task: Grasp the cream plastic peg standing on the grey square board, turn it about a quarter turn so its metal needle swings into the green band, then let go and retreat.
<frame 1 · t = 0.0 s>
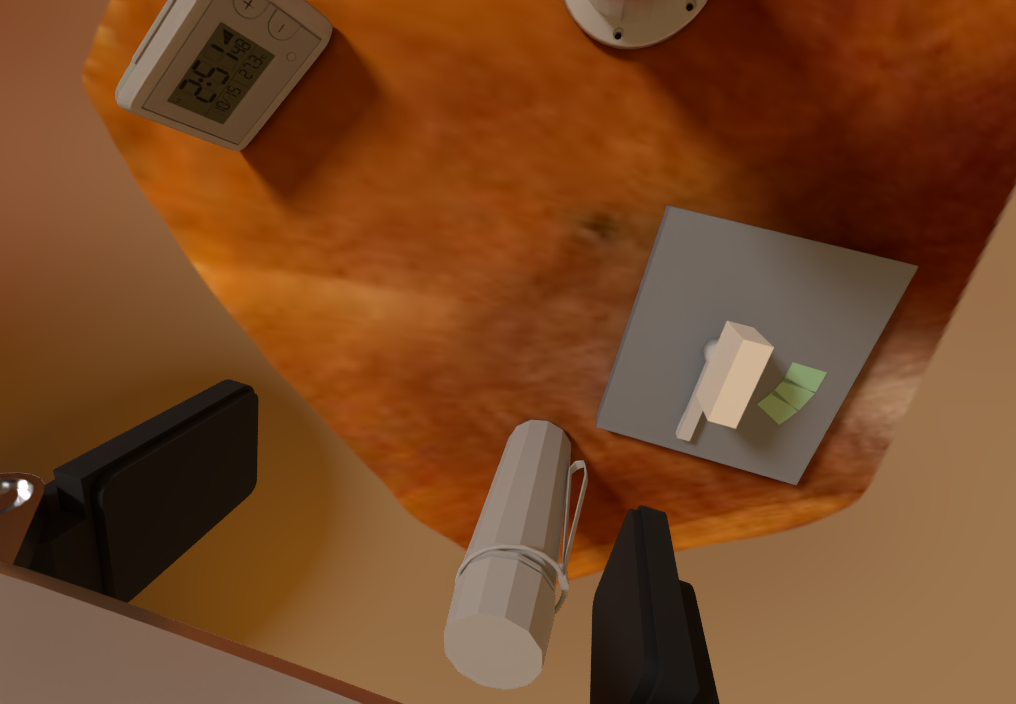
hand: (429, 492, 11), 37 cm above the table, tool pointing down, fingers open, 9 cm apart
water bottle: (548, 442, 52), on the table
digital clock: (272, 75, 45), on the table
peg: (714, 394, 40), point 6 cm above the table, hinge at 0.0°
grey square board: (731, 347, 45), on the table
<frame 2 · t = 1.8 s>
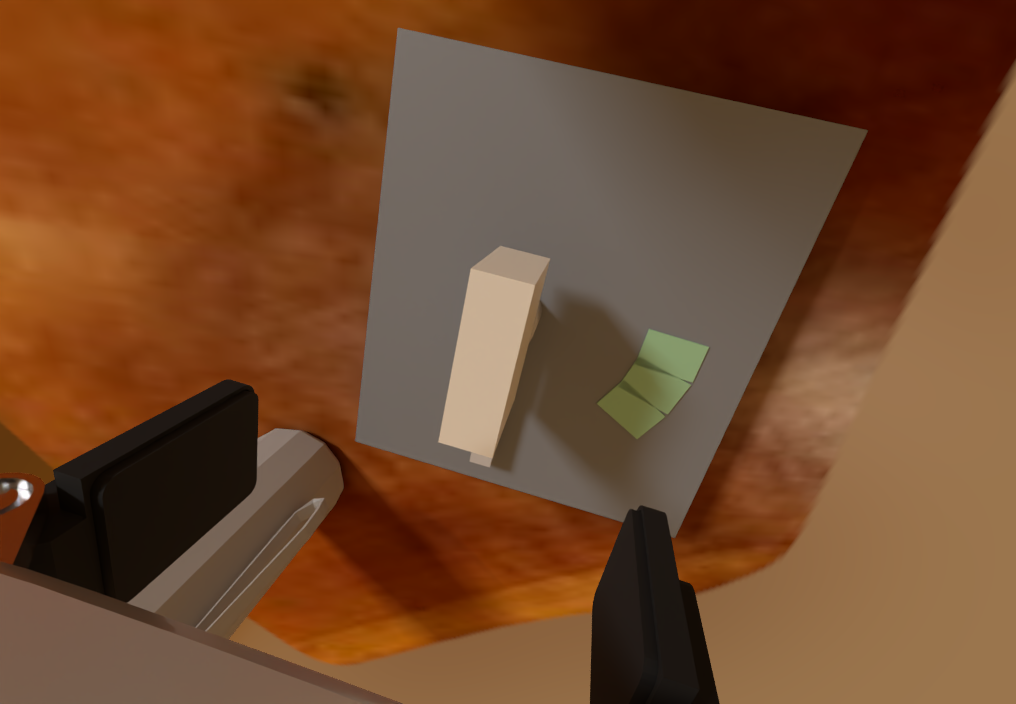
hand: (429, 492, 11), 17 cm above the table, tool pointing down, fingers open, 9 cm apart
water bottle: (315, 462, 34), on the table
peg: (491, 389, 22), point 7 cm above the table, hinge at 0.0°
grey square board: (560, 306, 26), on the table
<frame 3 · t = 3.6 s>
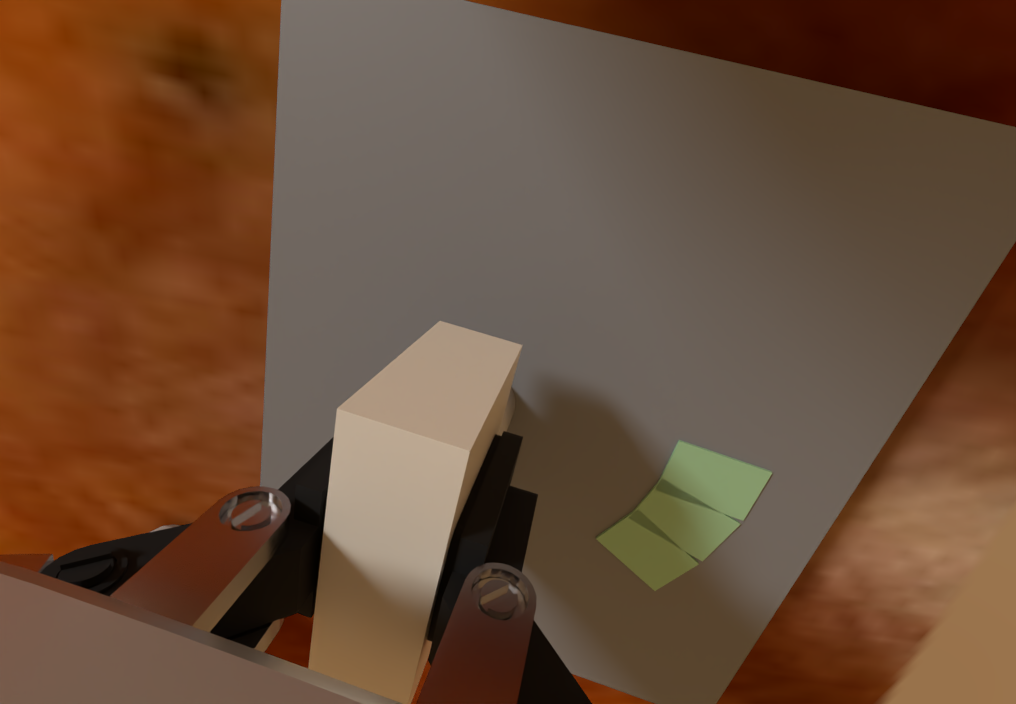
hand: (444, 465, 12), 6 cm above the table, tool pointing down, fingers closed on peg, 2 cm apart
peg: (426, 544, 13), point 6 cm above the table, hinge at 0.1°, touching gripper
grey square board: (545, 387, 18), on the table
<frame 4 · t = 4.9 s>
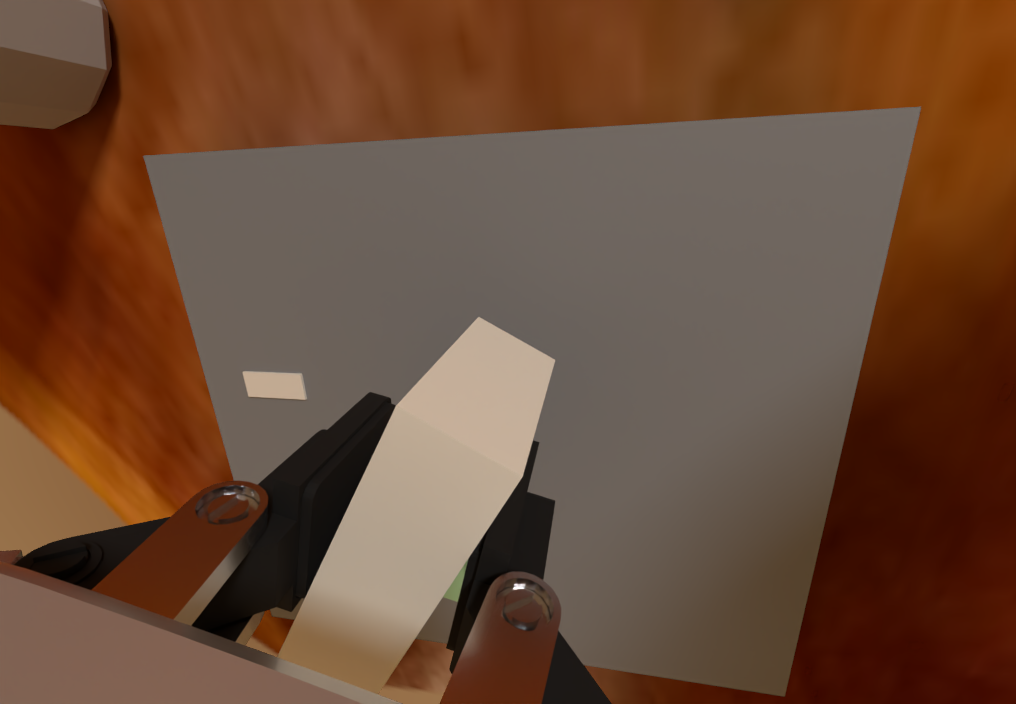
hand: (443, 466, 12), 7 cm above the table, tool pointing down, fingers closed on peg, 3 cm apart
water bottle: (65, 49, 17), on the table
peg: (409, 529, 13), point 6 cm above the table, hinge at 60.3°, touching gripper
grey square board: (502, 413, 19), on the table
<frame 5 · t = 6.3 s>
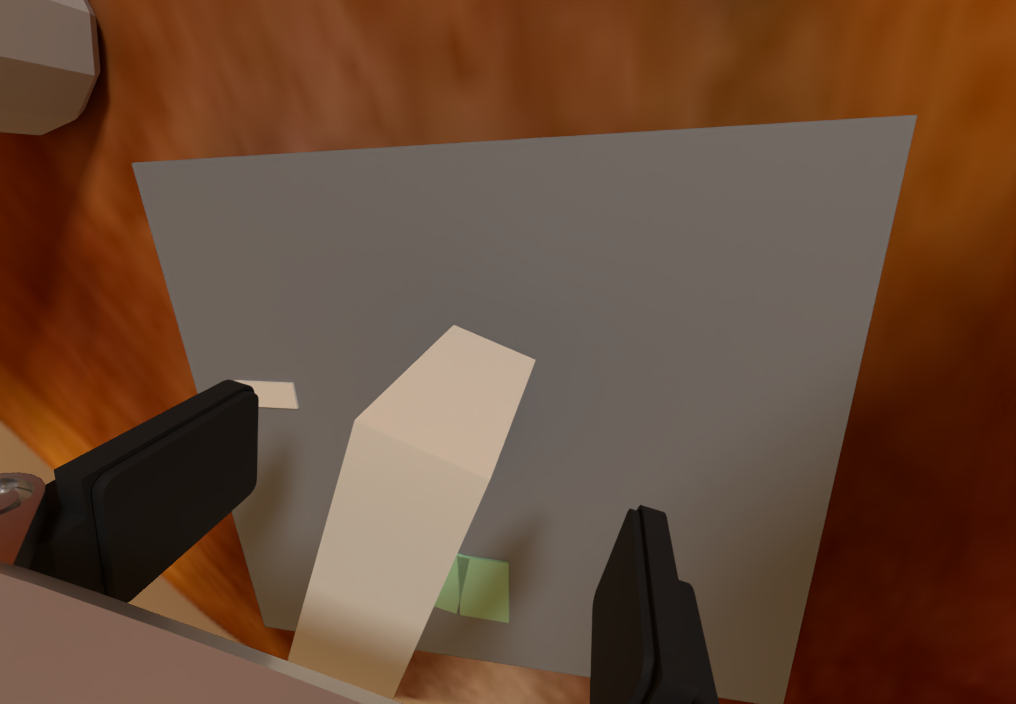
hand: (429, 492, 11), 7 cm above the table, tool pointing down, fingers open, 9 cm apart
water bottle: (53, 54, 17), on the table
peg: (410, 548, 13), point 7 cm above the table, hinge at 66.9°
grey square board: (497, 422, 19), on the table
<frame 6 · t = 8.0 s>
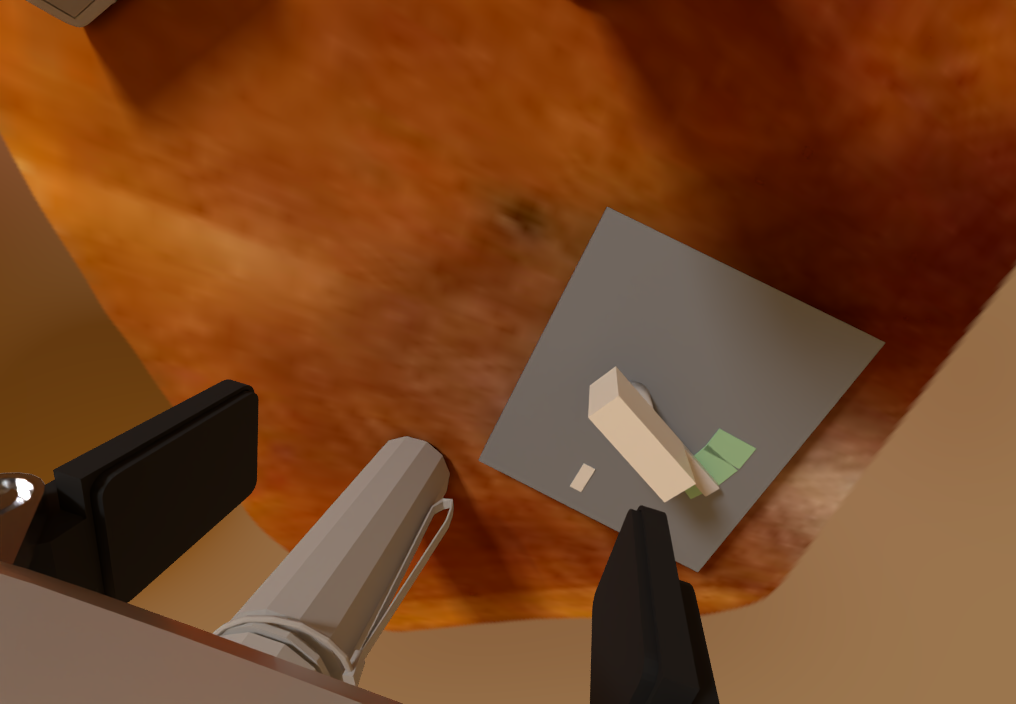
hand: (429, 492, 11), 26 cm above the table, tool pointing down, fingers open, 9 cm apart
water bottle: (425, 466, 43), on the table
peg: (663, 450, 31), point 6 cm above the table, hinge at 67.3°
grey square board: (653, 395, 37), on the table
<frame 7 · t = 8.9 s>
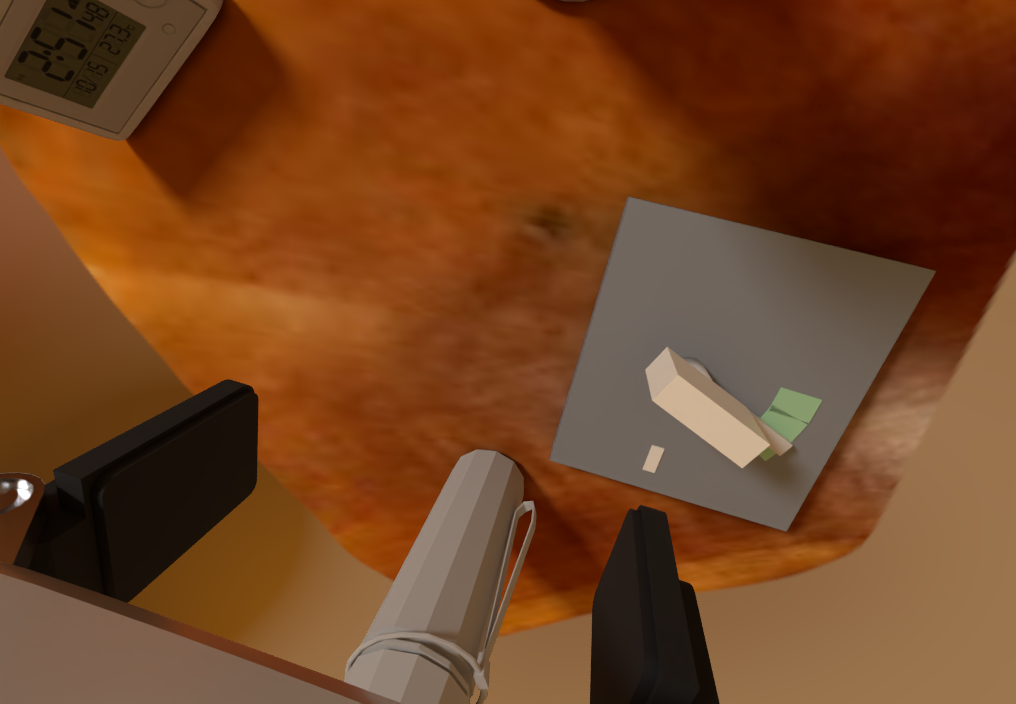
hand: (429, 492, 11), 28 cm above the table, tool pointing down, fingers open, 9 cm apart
water bottle: (499, 475, 45), on the table
digital clock: (158, 52, 38), on the table
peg: (729, 418, 32), point 6 cm above the table, hinge at 67.4°
grey square board: (708, 367, 37), on the table
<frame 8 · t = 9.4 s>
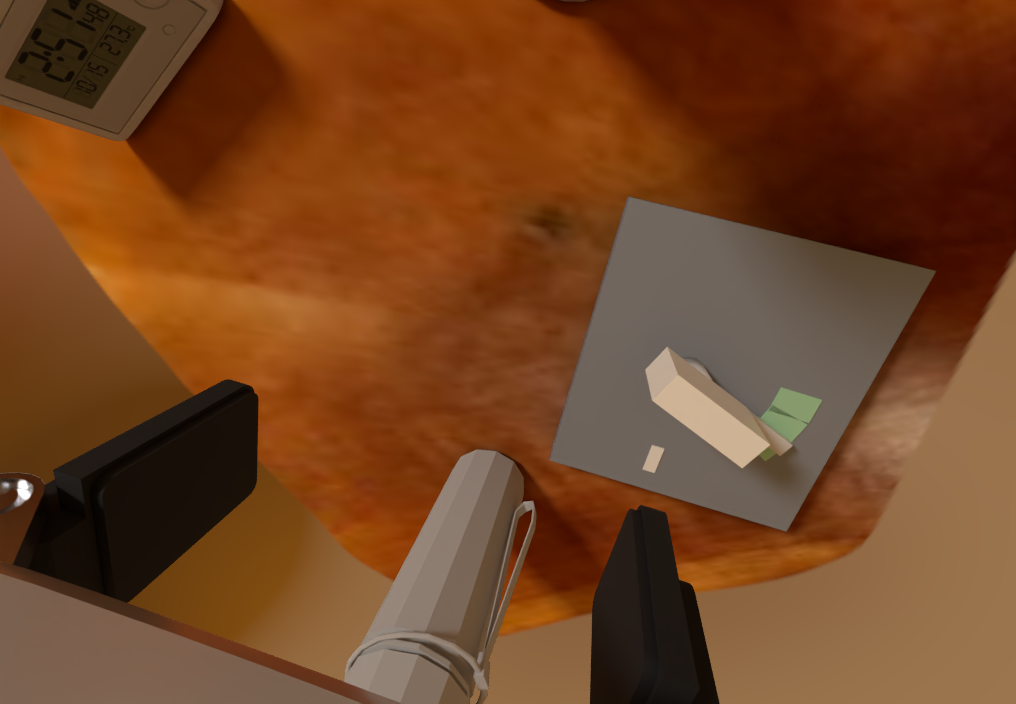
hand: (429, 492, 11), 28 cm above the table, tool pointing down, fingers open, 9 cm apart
water bottle: (499, 475, 45), on the table
digital clock: (158, 53, 38), on the table
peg: (729, 418, 32), point 6 cm above the table, hinge at 67.4°
grey square board: (708, 367, 37), on the table
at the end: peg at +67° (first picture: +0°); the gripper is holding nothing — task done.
